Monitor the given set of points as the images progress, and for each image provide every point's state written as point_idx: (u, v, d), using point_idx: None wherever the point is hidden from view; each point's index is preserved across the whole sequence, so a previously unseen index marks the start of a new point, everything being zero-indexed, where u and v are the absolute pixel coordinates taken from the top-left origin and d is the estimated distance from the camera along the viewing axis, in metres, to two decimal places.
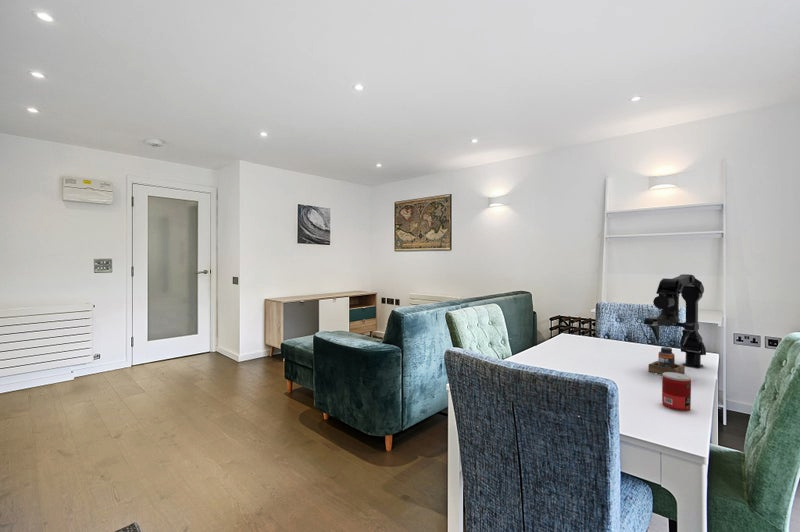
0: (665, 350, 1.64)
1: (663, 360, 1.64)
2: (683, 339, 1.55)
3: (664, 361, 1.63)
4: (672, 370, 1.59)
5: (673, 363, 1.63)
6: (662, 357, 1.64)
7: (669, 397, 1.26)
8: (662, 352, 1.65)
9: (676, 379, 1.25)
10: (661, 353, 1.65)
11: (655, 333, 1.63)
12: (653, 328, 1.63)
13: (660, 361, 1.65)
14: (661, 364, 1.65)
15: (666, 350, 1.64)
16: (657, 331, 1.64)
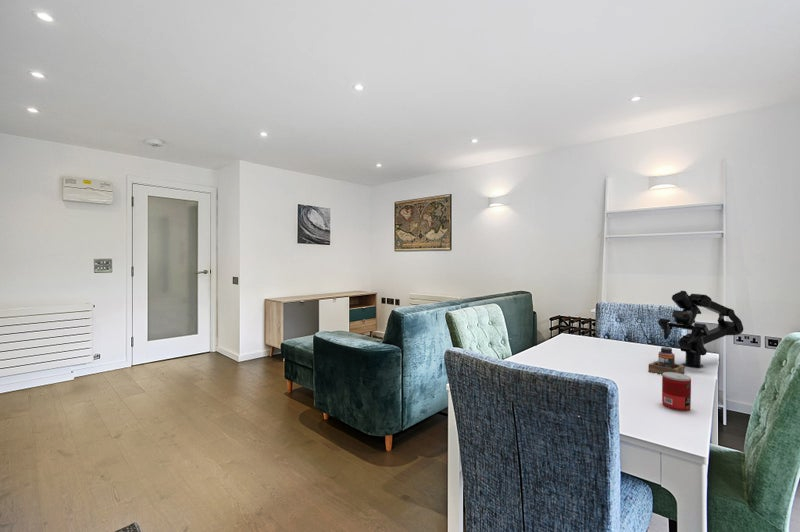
0: (665, 350, 1.64)
1: (663, 360, 1.64)
2: (690, 337, 1.65)
3: (664, 361, 1.63)
4: (672, 370, 1.59)
5: (673, 363, 1.63)
6: (662, 357, 1.64)
7: (669, 397, 1.26)
8: (662, 352, 1.65)
9: (676, 379, 1.25)
10: (661, 353, 1.65)
11: (665, 331, 1.74)
12: (665, 326, 1.75)
13: (660, 361, 1.65)
14: (661, 364, 1.65)
15: (666, 350, 1.64)
16: (667, 331, 1.75)
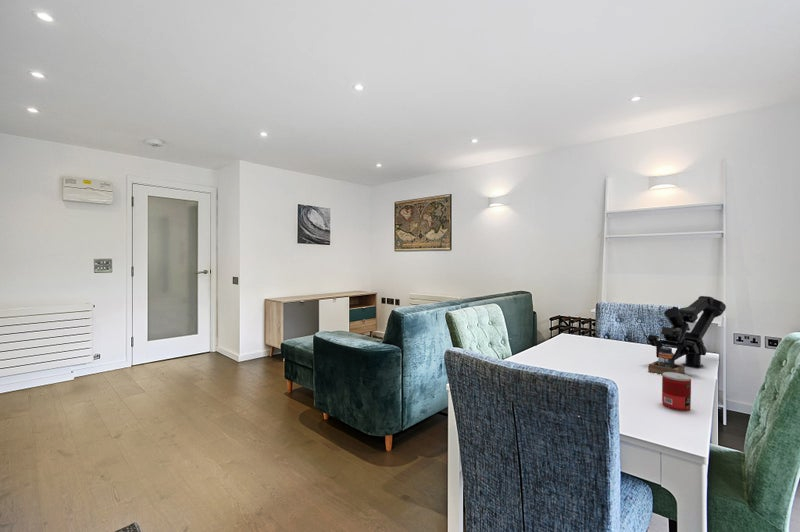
0: (665, 350, 1.64)
1: (663, 360, 1.64)
2: (675, 354, 1.62)
3: (664, 361, 1.63)
4: (672, 370, 1.59)
5: (673, 363, 1.63)
6: (662, 357, 1.64)
7: (669, 397, 1.26)
8: (662, 352, 1.65)
9: (676, 379, 1.25)
10: (661, 353, 1.65)
11: (657, 349, 1.69)
12: (657, 343, 1.69)
13: (660, 361, 1.65)
14: (661, 364, 1.65)
15: (666, 350, 1.64)
16: (660, 349, 1.69)
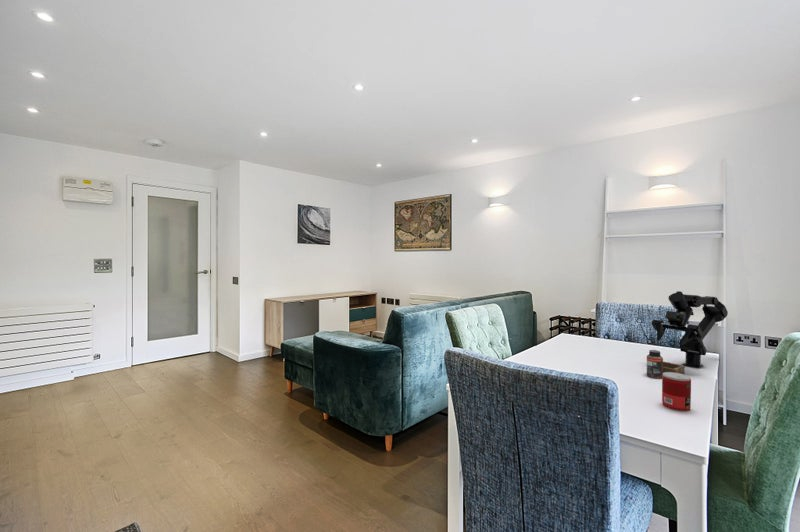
0: (653, 353, 1.59)
1: (651, 363, 1.59)
2: (683, 338, 1.62)
3: (652, 364, 1.58)
4: (672, 370, 1.59)
5: (661, 367, 1.57)
6: (651, 361, 1.59)
7: (669, 397, 1.26)
8: (650, 355, 1.59)
9: (676, 379, 1.25)
10: (649, 356, 1.60)
11: (658, 332, 1.71)
12: (658, 327, 1.72)
13: (648, 364, 1.60)
14: (649, 368, 1.59)
15: (654, 353, 1.58)
16: (661, 333, 1.71)
